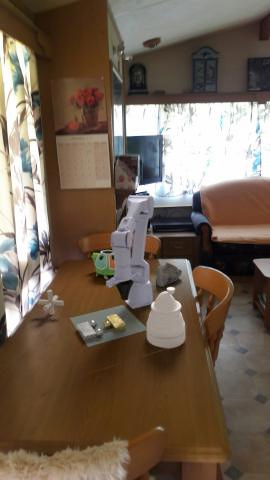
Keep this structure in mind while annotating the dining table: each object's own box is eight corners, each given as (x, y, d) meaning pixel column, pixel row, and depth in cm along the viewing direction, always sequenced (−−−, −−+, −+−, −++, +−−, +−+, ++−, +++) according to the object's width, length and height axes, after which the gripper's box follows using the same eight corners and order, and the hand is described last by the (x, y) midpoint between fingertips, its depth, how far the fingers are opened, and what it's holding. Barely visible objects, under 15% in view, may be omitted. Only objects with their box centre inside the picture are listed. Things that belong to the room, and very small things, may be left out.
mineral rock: (181, 277, 170) (180, 257, 167) (185, 286, 160) (185, 265, 157) (154, 279, 169) (153, 259, 166) (157, 288, 159) (156, 267, 156)
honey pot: (188, 330, 124) (188, 282, 119) (180, 351, 112) (180, 298, 107) (152, 325, 128) (151, 278, 123) (141, 345, 116) (139, 294, 111)
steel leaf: (103, 336, 122) (103, 330, 121) (85, 341, 119) (84, 335, 118) (94, 324, 129) (94, 318, 129) (77, 329, 127) (76, 323, 126)
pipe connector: (59, 321, 133) (56, 297, 131) (34, 319, 135) (31, 295, 133) (69, 309, 143) (66, 286, 140) (45, 307, 145) (43, 285, 142)
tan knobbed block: (126, 329, 125) (126, 323, 124) (109, 334, 122) (108, 328, 122) (116, 318, 133) (116, 313, 132) (100, 323, 130) (99, 317, 130)
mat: (123, 305, 144) (122, 304, 144) (148, 330, 125) (148, 329, 125) (69, 318, 135) (69, 318, 135) (88, 347, 116) (88, 346, 116)
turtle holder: (104, 266, 189) (102, 244, 186) (127, 274, 177) (126, 251, 173) (85, 272, 181) (83, 250, 178) (108, 281, 168) (106, 258, 165)
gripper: (129, 256, 134) (131, 290, 138) (99, 267, 124) (102, 302, 128) (143, 260, 129) (144, 295, 133) (113, 272, 119) (115, 308, 123)
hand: (124, 299), depth 130 cm, fingers closed
